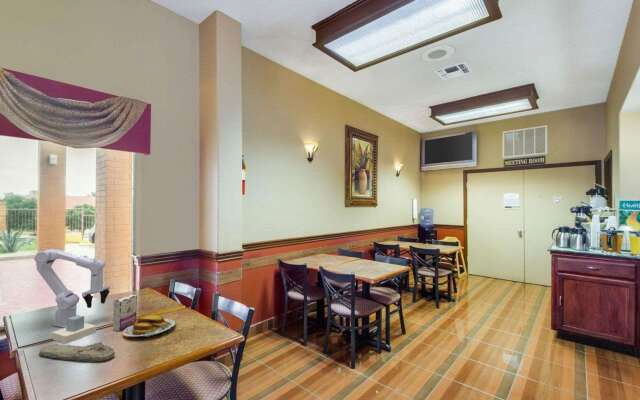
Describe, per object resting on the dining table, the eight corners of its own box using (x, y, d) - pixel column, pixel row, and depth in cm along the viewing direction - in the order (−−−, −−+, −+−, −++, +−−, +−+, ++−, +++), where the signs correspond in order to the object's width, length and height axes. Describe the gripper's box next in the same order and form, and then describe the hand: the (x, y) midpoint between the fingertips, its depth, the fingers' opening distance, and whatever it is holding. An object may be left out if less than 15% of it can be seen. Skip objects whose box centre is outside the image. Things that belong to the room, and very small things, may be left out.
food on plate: (122, 346, 144) (122, 332, 144) (121, 328, 165) (121, 316, 165) (179, 334, 159) (179, 322, 159) (172, 319, 179) (172, 308, 179)
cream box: (51, 340, 149) (52, 332, 149) (82, 329, 162) (83, 322, 162) (65, 344, 145) (65, 336, 145) (95, 333, 158) (96, 326, 158)
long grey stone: (53, 350, 141) (31, 362, 131) (53, 339, 141) (30, 351, 131) (121, 352, 137) (103, 365, 127) (121, 341, 137) (103, 353, 127)
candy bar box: (129, 322, 171) (130, 294, 172) (136, 323, 170) (137, 295, 171) (111, 330, 160) (113, 300, 161) (119, 331, 159) (121, 300, 160)
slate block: (66, 330, 151) (66, 318, 151) (75, 326, 156) (76, 315, 156) (74, 331, 150) (74, 319, 150) (83, 327, 155) (84, 316, 155)
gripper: (88, 285, 162) (88, 310, 162) (114, 279, 176) (113, 302, 176) (79, 284, 164) (78, 308, 164) (105, 278, 178) (104, 301, 178)
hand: (96, 305), depth 170 cm, fingers open, 7 cm apart
